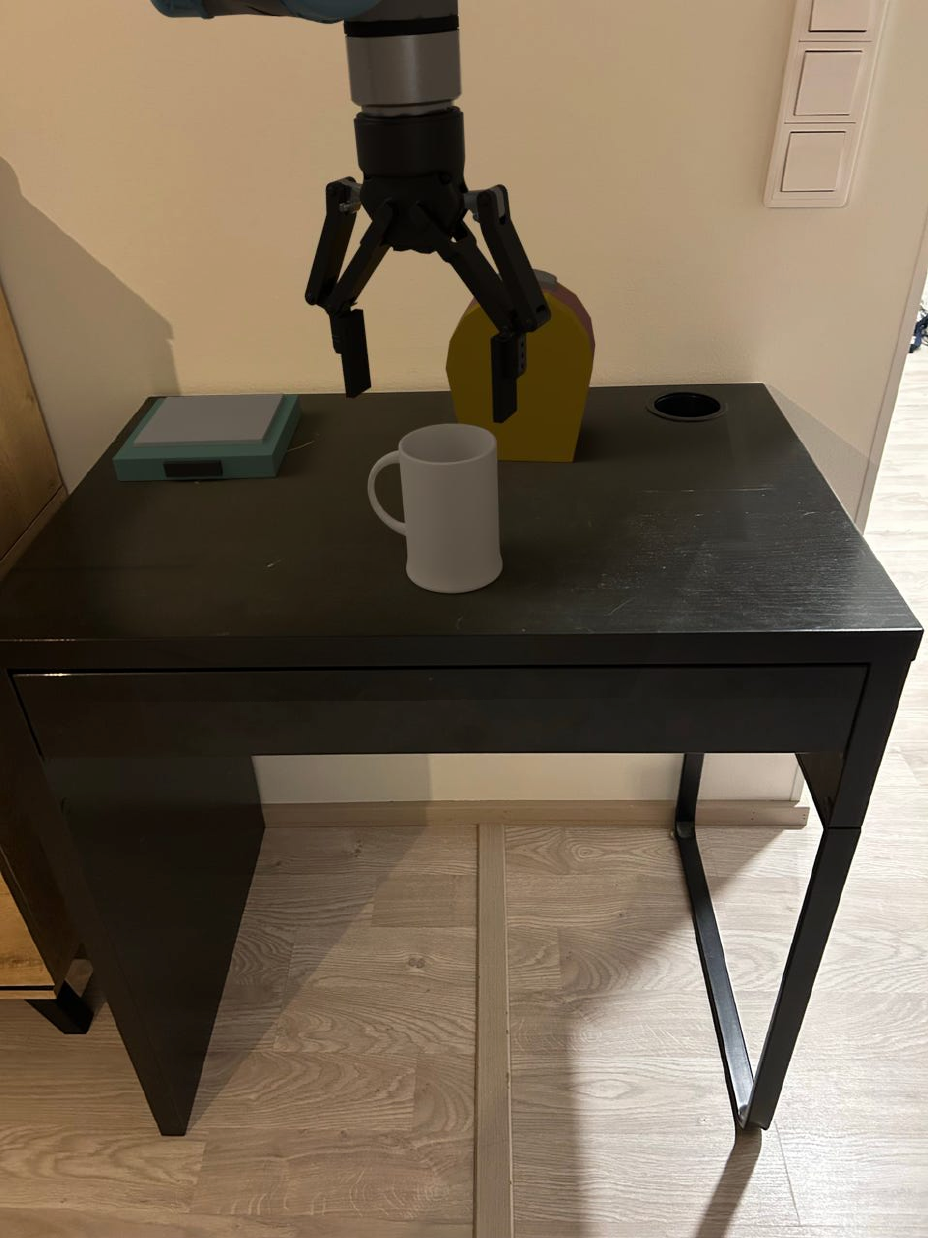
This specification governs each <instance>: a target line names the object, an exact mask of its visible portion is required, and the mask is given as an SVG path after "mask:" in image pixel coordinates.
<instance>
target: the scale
mask: <svg viewBox="0 0 928 1238" xmlns="http://www.w3.org/2000/svg"><path fill="white" fill-rule="evenodd" d="M300 399H301V398H300V394H299V393H289V394H288V393H286V394H285V393H250V394H249V393H248V394H219V395H218V394H216V395H215V394H213V395H188V396H187V395H185V396H182V395H181V396H167V397H159V398H157V400H155V402H154V403H153V405H152V406H151V408H150V409H149V410H148V412H147V413H146V414H145V415H144V416H143V418H142V419H141V420H140V422H139V423H138V425H136V428H135V429H133V430H132V433H131V434H130V435H129V437H127V439H126V441H124V443H123V444H122V446H121V447H120V449H119V450H118V451H117V452H116V454H115V455H114V456H113V458H112V463H113V467H114V471H115V474H116V478H117V481H118V482H143V481H144V482H147V481H148V482H149V481H176V480H177V481H182V480H183V481H184V480H219V479H220V480H221V479H222V480H223V479H256V478H276V477H277V475H278V473H279V470H280V468H281V466H282V462H283V460H284V458H285V456H286V453H287V451H288V448H289V446H290V443H291V441H292V438H293V436H294V433H295V431H296V429H297V427H298V425H299V422H300V420H301V417H302V415H303V414H302V406H301V400H300Z"/></svg>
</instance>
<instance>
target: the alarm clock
mask: <svg viewBox="0 0 928 1238" xmlns="http://www.w3.org/2000/svg"><path fill="white" fill-rule="evenodd" d="M532 269H533V271H534V273H535V276H536V278H537V280H538V283H539V285H540V287H541V290H542V292H543V294H544V297H545V299H546V301H547V304H548V306H549V308H550V311H551V319H550V320H549V321H548V322H547V323H545V324H544V325H543V326H541V327H540V328H539V329H537V330H536V331H534V332H531V333H530V332H527V335H526V350H527V354H526V355H527V359H526V360H527V368H526V370H525V373H524V374H523V375H522V376H520V377H519V378H518V379H517V411H516V412H515V413H514V414H513V415H512V416H510V417H509V418H508V419H507V420H506V421H504V422H503V423H502V424H501V423H495V422H493V403H492V373H491V342H490V338H492V337H493V336H495V335H496V334H498V333H499V331H498V329H497V328H496V327H495V325H494V324H493V323H492V321H491V320H490V318H489V317H488V316H487V314H486V313H485V311H484V310H483V309H482V307H481V306H480V305H479V303H478V302H477V300H476V299H475V298H474V297H473V298H471V301H470V302H469V303H468V306H467V308H466V309H465V310H464V312H463V314H461V315H462V316H461V317H460V319H459V321H458V323H457V325H456V327H455V329H454V330H453V333H452V335H451V337H450V339H449V341H448V342H449V343H448V348H447V356H446V362H445V373H446V376H447V382H448V387H449V390H450V394H451V395H450V396H451V398H452V403H453V408H454V412H455V416H456V417H455V418H456V420H457V424H467V425H473V426H477V427H480V428H483V429H485V430H487V431H489V432H491V433H492V434H493V435H494V436H495V438H496V441H497V461H512V462H546V463H547V462H548V463H573V462H574V457H575V452H576V448H577V443H578V439H579V434H580V430H581V425H582V421H583V417H584V411H585V407H586V402H587V397H588V392H589V389H590V383H591V379H592V376H593V375H592V374H593V370H594V361H595V352H596V340H595V333H594V328H593V321H592V317H591V316H590V314H589V313H588V311H587V309H586V308H585V306H584V305H583V303H582V301H581V300H580V298H579V296H578V295H577V294H576V293H575V292H574V291H572V290H571V289H569V288H568V287H566V286H565V285H563V284H561V282H559V281H558V277H557V276H556V275H555V274H553V273H550V272H548V271H545V270H542V269H537V268H532ZM497 274H498V276H499V277H500V279H501V276H500V274H499V272H497ZM501 280H502V279H501Z"/></svg>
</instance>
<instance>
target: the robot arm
mask: <svg viewBox="0 0 928 1238" xmlns="http://www.w3.org/2000/svg"><path fill="white" fill-rule="evenodd" d="M149 1H150V3H151V4H152V6H153V7H154V8H155V9H156V11H157V12H159V13H160V14H161V15H162V16H165V17H167V18H169V19H170V18H171V19H179V18H180V19H181V18H182V19H185V18H200V19H203V20H212V19H215V17H226V16H243V15H244V16H245V15H250V16H263V17H278V18H281V17H282V18H283V17H285V18H286V17H289V18H296V19H302V20H306V21H310V22H313V23H314V22H315V23H318V24H323V25H333V24H339V23H340V22H343V24H342V25H343V26H342V27H343V35H344V42H345V52H346V63H347V73H348V74H347V75H348V83H349V95H350V101H351V102H352V103H353V105H356V106H357V107H360V111H359V112H357V113H356V114H355V118H353V130H354V138H355V150H356V158H357V166H358V168H359V170H360V171H361V172H362V176H363V177H362V183H360V182H357V180H356V178H354V177H353V176H351V175H349V176H345V177H342V178H338V179H337V180H332V181H330V182H329V183H327V184H326V185H325V191H324V192H325V218H324V220H323V221H324V222H323V224H322V228H321V232H320V236H319V238H318V239H319V240H318V242H317V243H318V244H317V247H316V250H315V255H314V258H313V262H312V266H311V269H310V273H309V276H308V280H307V284H306V286H305V292H304V300H305V302H306V304H307V305H309V306H312V307H314V306H318V307H319V308H321V309H323V310H324V311H325V313H326V315H328V318H329V327H330V334H331V340H332V341H331V342H332V348H333V350H334V352H335V354H336V355H340V359H341V368H342V375H343V384H344V390H345V391H344V392H345V397H346V398H349V399H356V398H357V397H358V396H360V395H362V394H363V393H365V392H367V391H368V390H370V389H371V388H372V377H371V369H370V359H369V351H368V341H367V333H366V332H367V330H366V324H365V323H366V322H365V314H364V313H365V312H364V309H363V308H354V309H352V307H355V306H356V305H357V304H358V303H359V302H358V301H357V300H358V299H359V297H360V295H361V294H362V292H363V290H364V289H365V288H366V286H367V284H368V282H369V281H370V279H372V276H373V275H374V273H375V272H376V270H377V269H378V267H379V265H380V264H381V262H382V261H383V259H384V258H385V256H386V255H387V253H388V251H389V250H390V249H391V248H392V251H393V252H401V253H403V252H407V251H413V252H416V253H419V254H421V255H422V254H423V255H431V254H433V253H435V252H436V253H437V255H438V256H439V257H440V258H441V260H442V261H443V262H445V263H447V264H449V265H450V267H452V269H453V270H454V272H455V273H456V274H457V276H458V277H459V278H460V280H461V281H462V283H463V284H464V286H465V287H466V288H467V290H468V291H469V292H470V294H471V295H472V297H473V298H475V299H476V300H477V302H478V303H479V305H480V306H481V307H482V309H483V310H484V311H485V313H486V314H487V316H488V317H489V318H490V320H491V321H492V323H493V324H494V325H495V327H496V328H497V329H498V331H499V333H498V334H496V335H495V336H493V337H492V338H490V342H491V373H492V403H493V422H495V423H501V424H502V423H503V422H504V421H506V420H507V419H508V418H509V417H510V416H512V415H513V414H514V413H515V412H516V411H517V379H518V378H519V377H520V376H522V375H523V374H524V373H525V370H526V368H527V360H526V359H527V355H526V354H527V350H526V335H527V332H530V333H531V332H534V331H536V330H537V329H539V328H540V327H541V326H543V325H544V324H545V323H547V322H548V321H549V320H550V319H551V311H550V308H549V306H548V304H547V301H546V299H545V297H544V294H543V292H542V290H541V287H540V285H539V283H538V280H537V278H536V276H535V273H534V271H533V269H534V268H533V267H532V264H531V262H530V259H529V257H528V255H527V252H526V250H525V248H524V245H523V244H522V241H521V239H520V237H519V234H518V232H517V229H516V227H515V225H514V223H513V220H512V218H511V207H510V200H509V192H508V189H507V186H506V185H504V184H501V183H498V184H495V185H492V186H491V187H488V188H485V189H472V190H469V188H468V185H467V182H466V180H465V165H466V137H465V136H466V135H465V116H464V115H465V114H464V111H462V110H461V108H460V107H459V106H458V105H455V101H456V100H458V99H460V97H461V96H462V95H463V79H462V56H461V53H462V52H461V36H460V35H461V33H460V32H461V31H460V30H461V29H460V16H459V0H149ZM361 208H363V210H364V211H365V212H366V214H367V215H368V217H369V219H370V220H371V222H370V224H369V226H368V227H367V229H366V230H365V232H364V233H363V235H362V237H361V239H360V240H359V246H358V248H357V250H356V251H355V252H354V255H353V256H352V258H351V260H350V261H349V263H348V264H347V266H346V268H345V269H344V271H343V273H342V274H341V271H342V268H343V265H344V261H345V258H346V254H347V251H348V248H349V245H350V242H351V237H352V234H353V231H354V227H355V224H356V220H357V217H358V212H359V211H360V210H361ZM469 211H470V212H471V213H472V220H473V221H474V222H476V223H477V224H479V229H480V230H481V235H482V238H483V240H484V242H485V244H486V247H487V249H488V252H489V253H490V256H491V259H492V260H493V263H494V265H495V267H496V269H497V271H498V272H497V271H496V270H495V269H494V267H493V266H492V265H491V263H490V262H489V260H488V259H487V257H486V256H485V255H484V253H483V251H482V250H481V249H480V248H479V246H478V240H477V237H476V236H475V235H474V233H473V232H472V230H471V228H470V227H469V226H468V224H467V223H466V222H465V220H464V219H465V217H466V216H467V214H468V212H469ZM453 239H454V240H455V241H453ZM498 273H499V274H500V276H501V279H502V280H501V279H500V277H499V276H498ZM340 275H341V276H340Z"/></svg>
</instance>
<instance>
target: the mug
mask: <svg viewBox="0 0 928 1238" xmlns="http://www.w3.org/2000/svg"><path fill="white" fill-rule="evenodd" d="M392 464H399V470H400V471H399V472H400V480H401V482H400V483H401V494H402V505H403V513H404V515H403V517H404V522H401V521H399V520H397V519H395V518H394V517H392V516H391V515H389V514H388V513H387V512H386V510H384V508H383V507H382V506H381V504H380V503H379V499H378V498H377V494H376V491H375V490H376V489H375V481H376V478H377V475H378V474H379V472H380V471H382V469H383V468H385V467H387V466H389V465H392ZM498 472H499V471H498V460H497V441H496V438H495V436H494V435H493V434H492V433H491V432H489V431H487V430H485V429H483V428H480V427H477V426H473V425H467V424H458V423H439V424H432V425H428V426H427V425H426V426H424V427H420V428H417V429H415V430H413V431H410V432H409V433H407V434H406V435H404V436H403V437H402V438H401V439H400V440H399V443H398V450H394V451H391V452H389V453H386V454H384V455H383V456H381V458H379V459H378V460H377V461H376V462H375V464H374V465H373V466H372V469H371V470H370V472H369V476H368V480H367V495H368V498H369V502H370V504H371V507H372V508H373V510H374V512H375V513H376V515H377V516H378V518H379V519H380V520H381V521H382V522H383V523H384V525H386V526H387V527H389V528H390V529H391V530H393V531H395V532H396V533H398V534H400V535H402V536H405V538H406V539H405V540H406V551H407V559H406V566H405V570H406V575H407V576H408V579H409V580H410V581H411V582H412V583H414V584H415V585H416V586H417V587H419V588H422V589H424V590H427V591H431V592H435V593H440V594H441V593H442V594H461V593H468V592H472V591H476V590H479V589H482V588H484V587H486V586H488V585H490V584H491V583H493V582H494V581H495V580H496V579H498V577H499V576H500V575H501V573H502V571H503V567H504V565H503V564H504V563H503V558H502V555H501V550H500V547H501V546H500V518H499V515H500V513H499V487H498V486H499V478H498Z"/></svg>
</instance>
